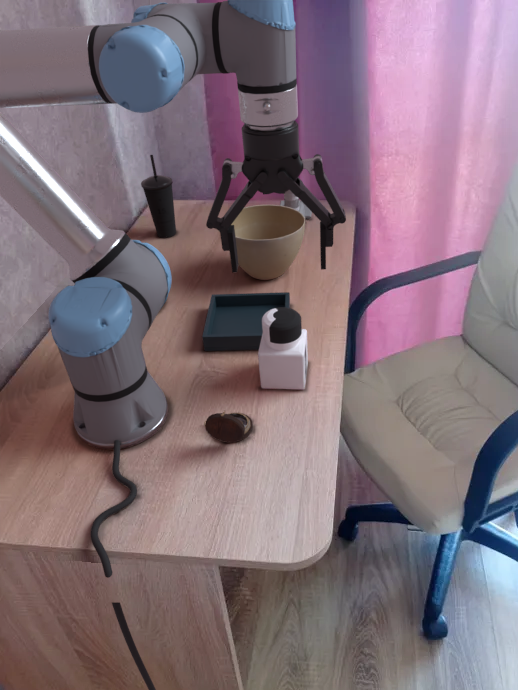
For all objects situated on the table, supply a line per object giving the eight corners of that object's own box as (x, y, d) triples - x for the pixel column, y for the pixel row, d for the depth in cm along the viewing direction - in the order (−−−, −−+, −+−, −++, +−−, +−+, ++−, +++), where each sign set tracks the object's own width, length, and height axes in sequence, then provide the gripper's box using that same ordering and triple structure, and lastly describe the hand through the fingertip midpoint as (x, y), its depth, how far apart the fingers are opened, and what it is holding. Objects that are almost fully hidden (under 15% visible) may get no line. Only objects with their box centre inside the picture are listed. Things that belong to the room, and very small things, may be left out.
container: (308, 362, 107) (306, 302, 98) (304, 390, 101) (302, 328, 92) (266, 361, 107) (261, 301, 99) (260, 389, 101) (254, 327, 93)
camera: (271, 188, 140) (278, 166, 152) (274, 233, 148) (281, 210, 159) (307, 187, 139) (312, 166, 151) (308, 233, 147) (312, 210, 158)
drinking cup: (148, 231, 152) (131, 153, 139) (176, 224, 154) (162, 147, 141) (156, 243, 147) (139, 163, 134) (185, 236, 149) (171, 156, 136)
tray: (288, 349, 110) (288, 334, 108) (204, 351, 111) (202, 337, 109) (290, 305, 122) (289, 292, 119) (213, 307, 122) (211, 294, 120)
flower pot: (304, 291, 126) (303, 239, 118) (222, 291, 127) (215, 240, 119) (307, 251, 139) (306, 203, 132) (233, 252, 141) (227, 204, 133)
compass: (256, 417, 96) (253, 384, 91) (245, 452, 90) (241, 418, 85) (210, 413, 97) (204, 379, 93) (196, 447, 91) (189, 413, 87)
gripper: (170, 135, 74) (195, 281, 88) (367, 126, 73) (362, 276, 86) (180, 118, 80) (202, 257, 93) (362, 109, 79) (358, 252, 92)
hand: (279, 266), depth 90 cm, fingers open, 13 cm apart
